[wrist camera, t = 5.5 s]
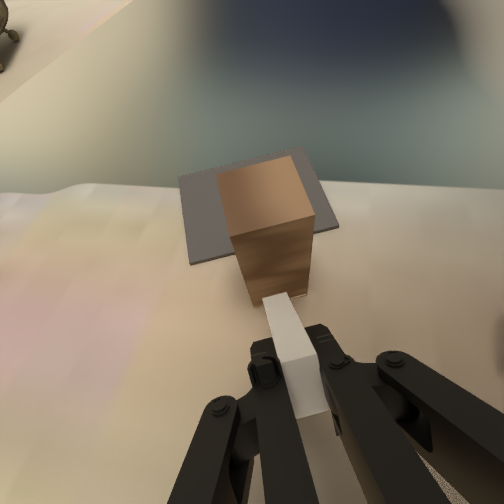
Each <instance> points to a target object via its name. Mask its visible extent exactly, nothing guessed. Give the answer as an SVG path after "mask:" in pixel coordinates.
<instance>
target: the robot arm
mask: <svg viewBox="0 0 504 504" xmlns="http://www.w3.org/2000/svg"><path fill="white" fill-rule="evenodd" d="M262 300H263V304H264V308H265V311H266V315H267V319H268V323H269V327H270V330H271V334H272V337H271V338H267V339H263V340H259V341H256V342H253V344H252V346H251V348H250V352H251V360H252V361H251V362H250V363H249V364H248V368H247V369H248V373H249V376H250V380H251V383H252V389H251V390H250V391H249V392H248V393H247V394H246V395H245V396H243V397H242V398H240V399H238V400H235V398H233V397H231V396H220V397H217V398H215V399H214V400H212V401H211V402H210V403H209V404H207V406H206V407H205V409H204V411H203V414H202V416H201V419H200V421H199V424H198V426H197V429H196V431H195V434H194V436H193V439H192V441H191V444H190V447H189V449H188V452H187V454H186V457H185V459H184V462H183V464H182V467H181V469H180V472H179V474H178V477H177V479H176V482H175V484H174V487H173V490H172V492H171V495H170V497H169V500H168V502H167V504H247V503H248V496H249V490H250V484H251V478H252V472H253V465H254V456H256V455H257V454H259V453H260V459H261V468H262V477H263V486H264V495H265V504H319V501H318V497H317V494H316V490H315V486H314V483H313V479H312V476H311V472H310V468H309V465H308V461H307V458H306V454H305V450H304V447H303V443H302V439H301V436H300V432H299V429H298V425H297V421H296V419H300V418H303V417H307V416H311V415H315V414H318V413H322V412H326V411H329V407H330V409H331V413H332V417H333V422H334V426H335V431H336V435H337V436H339V435H340V438H341V440H342V443H343V445H344V447H345V450H346V452H347V454H348V457H349V459H350V461H351V464H352V466H353V469H354V471H355V473H356V476H357V478H358V480H359V483H360V485H361V488H362V490H363V492H364V495H365V497H366V499H367V502H368V504H451V503H450V501H449V500H448V498H447V497H446V495H445V494H444V492H443V491H442V489H441V488H440V486H439V485H438V483H437V482H436V480H435V479H434V478H433V476H432V475H431V473H430V472H429V470H428V469H427V467H426V466H425V464H424V463H423V461H422V460H421V458H420V457H419V455H418V454H417V452H418V453H419V454H420V455H421V456H422V457H423V458H424V459H425V460H426V461H427V462H428V463H429V464H430V465H431V466H432V467H433V468H434V469H435V470H436V471H437V472H438V473H439V474H440V475H441V476H442V477H443V478H444V479H445V480H446V481H447V482H448V483H449V484H450V485H452V486H453V487H454V488H455V489H456V490H457V491H458V492H459V493H460V494H461V495H462V496H463V497H464V498H465V499H466V500H467V501H468V502H469V503H470V504H504V414H503V413H501V412H500V411H498V410H497V409H495V408H493V407H492V406H490V405H489V404H487V403H485V402H484V401H482V400H481V399H479V398H477V397H476V396H474V395H473V394H471V393H469V392H468V391H466V390H465V389H463V388H461V387H460V386H458V385H457V384H455V383H453V382H452V381H450V380H449V379H447V378H445V377H444V376H442V375H441V374H439V373H437V372H436V371H434V370H433V369H431V368H429V367H428V366H426V365H425V364H423V363H421V362H420V361H418V360H417V359H415V358H413V357H412V356H410V355H409V354H406V353H404V352H401V351H386V352H383V353H381V354H380V355H378V356H377V358H376V363H359V362H355V361H354V359H353V358H351V357H350V356H348V355H346V354H344V352H343V351H342V349H341V348H340V346H339V344H338V343H337V341H336V340H335V339H334V337H333V335H332V334H331V332H330V331H329V329H328V328H327V327H326V326H324V325H322V324H317V325H313V326H310V327H306V328H304V327H303V325H302V323H301V321H300V319H299V317H298V315H297V313H296V311H295V309H294V307H293V305H292V303H291V301H290V299H289V296H288V294H287V292H284V293H280V294H276V295H273V296H269V297H265V298H262ZM328 404H329V406H328ZM415 450H416V451H417V452H416V451H415Z"/></svg>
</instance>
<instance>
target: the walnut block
mask: <svg viewBox="0 0 504 504" xmlns="http://www.w3.org/2000/svg"><path fill="white" fill-rule="evenodd" d="M216 178H217V183H218V187H219V192H220V196H221V201H222V205H223V210H224V214H225V219H226V223H227V228H228V232H229V237H230V240H231V243H232V246H233V248H234V251H235V254H236V257H237V260H238V263H239V266H240V269H241V272H242V274H243V277H244V280H245V283H246V286H247V289H248V292H249V295H250V298H251V301H252V303H253V306H254V308H258V307H262V306H264V304H263V300H262V298H265V297H269V296H273V295H276V294H280V293H284V292H287V294H288V296H289V299H293V298H297V297H301V296H304V295H307V291H308V281H309V271H310V261H311V252H312V242H313V232H314V222H315V213H314V211H313V208H312V206H311V204H310V201H309V199H308V196H307V194H306V192H305V189H304V187H303V184H302V182H301V180H300V177H299V175H298V172H297V170H296V168H295V165H294V163H293V161H292V158H291V156H286V157H282V158H278V159H274V160H270V161H266V162H262V163H258V164H255V165H251V166H247V167H243V168H239V169H235V170H231V171H227V172H223V173H219V174H216Z"/></svg>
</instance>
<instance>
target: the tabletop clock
mask: <svg viewBox="0 0 504 504" xmlns="http://www.w3.org/2000/svg"><path fill="white" fill-rule="evenodd" d="M7 21H8V8H7V6H6V4H5V2H4V0H0V35H1V34H2V33H3V32H5V33H7V34H8V36H9V38H10V39H12V40H14V41H16V40H18V39H19V35H18V33H17V32H16V31H14V30H9V31H8V30H7V29H5V26H6V24H7ZM2 70H3V65H2V64H1V63H0V72H1V71H2Z"/></svg>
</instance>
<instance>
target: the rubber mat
mask: <svg viewBox="0 0 504 504" xmlns="http://www.w3.org/2000/svg"><path fill="white" fill-rule="evenodd" d="M286 156H291V158H292V161H293V163H294V165H295V168H296V170H297V172H298V175H299V177H300V180H301V182H302V184H303V187H304V189H305V192H306V194H307V196H308V199H309V201H310V204H311V206H312V208H313V211H314V213H315V222H314V232H313V234H315V233H319V232H323V231H327V230H331V229H335V228H339V223H338V221H337V219H336V217H335V215H334V213H333V210H332V208H331V206H330V204H329V202H328V200H327V197H326V195H325V193H324V191H323V189H322V187H321V184H320V182H319V180H318V178H317V176H316V174H315V171H314V169H313V167H312V165H311V163H310V161H309V159H308V156H307V154H306V152H305V150H304V148H303V146H299V147H295V148H291V149H287V150H283V151H279V152H276V153H272V154H268V155H264V156H260V157H256V158H252V159H248V160H244V161H240V162H236V163H232V164H228V165H224V166H220V167H216V168H212V169H209V170H204V171H200V172H196V173H193V174H189V175H185V176H181V177H178V178H179V187H180V195H181V203H182V210H183V218H184V226H185V234H186V241H187V249H188V257H189V264H190V265H194V264H198V263H201V262H205V261H209V260H213V259H217V258H221V257H225V256H229V255H233V254H235V251H234V248H233V246H232V243H231V240H230V237H229V232H228V228H227V223H226V219H225V214H224V210H223V205H222V201H221V196H220V192H219V187H218V183H217V178H216V174H219V173H223V172H227V171H231V170H235V169H239V168H243V167H247V166H251V165H255V164H258V163H262V162H266V161H270V160H274V159H278V158H282V157H286Z"/></svg>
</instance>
